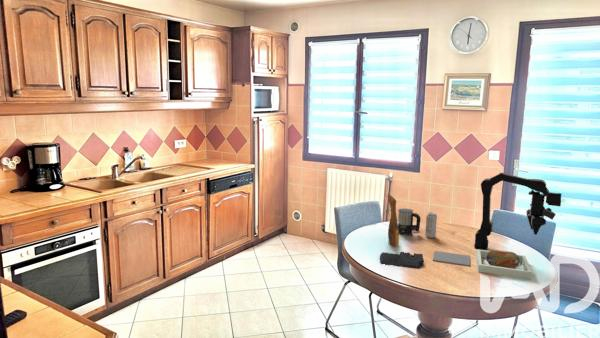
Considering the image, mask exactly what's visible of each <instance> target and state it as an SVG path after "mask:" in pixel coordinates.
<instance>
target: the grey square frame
mask: <svg viewBox="0 0 600 338" xmlns="http://www.w3.org/2000/svg"><path fill="white" fill-rule="evenodd" d="M489 251H490V250H484V249H477V248H476V263H477V264H476V265H477V272H478V273H485V274H490V275H491V274H492V275H497V276H498V275H500V276H503V277H504V276H505V277H512V278H518V279H525V280H532V279H533V271H532V269H531V267H530V264H529V262H528V259H527V257H526V255H522V254H516V255H517V256H518V257H519V259H520V264H521V265H522V267H523V269H520V268H519V269H518V268H515V269H512V268H505V267H498V266H491V265H490V264H483V263H482V258H485V259H486V257H487V254H488V252H489Z"/></svg>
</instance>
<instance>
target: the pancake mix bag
mask: <svg viewBox="0 0 600 338" xmlns="http://www.w3.org/2000/svg"><path fill="white" fill-rule="evenodd" d="M387 200H388V204H389V207H390V218H389V223H388V229H387V238H388V242H389V246H391V245H392V246H391V247H393V246H394V247H395V248H396V247H398V246H399V242H400V236H399V235H400V234H399V232H398V215H397V200H396V199H395V198H394V196H393V195H391V194H390V193H388V194H387ZM394 247H393V248H394Z"/></svg>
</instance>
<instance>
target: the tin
mask: <svg viewBox="0 0 600 338" xmlns="http://www.w3.org/2000/svg"><path fill="white" fill-rule="evenodd" d="M488 251H489V252H488V254H487V257H486V258H485V259H486V262H487V264H488V265H491V266H498V267H505V268H512V269H518V267H519V266H520V264H521V263H520V259H519V257H518V256H517V255H518V254H517V253H515V252H514V251H513V252H512V251H507V250H499V249H491V250H488Z"/></svg>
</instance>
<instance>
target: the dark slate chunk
mask: <svg viewBox="0 0 600 338" xmlns="http://www.w3.org/2000/svg"><path fill="white" fill-rule="evenodd" d="M424 262H425V261H424V256H423V254H422V253H415V252H414V253H413V254H411V253H410V252H404V251H400V252H399V253H393V252H392V253H391V252H390V253H389V252H385V251H382V252H381V253H380V255H379V263H380V265H382V264H385V265H384V266H391V265H393V266H392V267H399V268H401V267H402V268H410V269H411V268H412V269H417V270H419V269H423V266H424Z"/></svg>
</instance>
